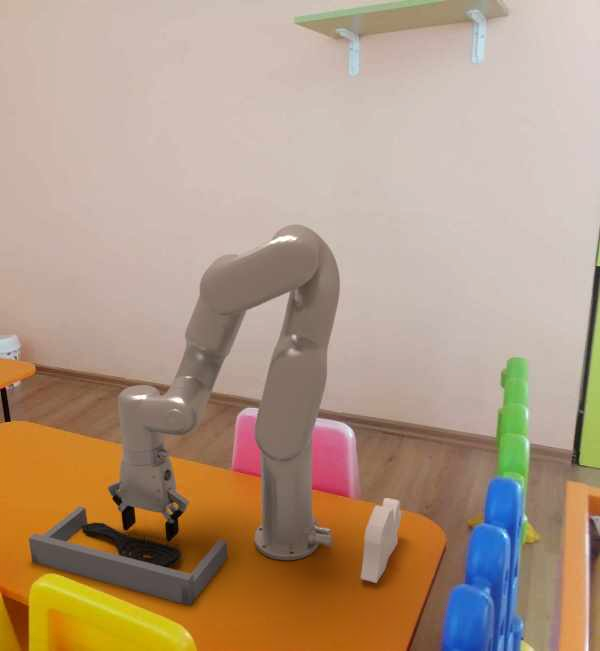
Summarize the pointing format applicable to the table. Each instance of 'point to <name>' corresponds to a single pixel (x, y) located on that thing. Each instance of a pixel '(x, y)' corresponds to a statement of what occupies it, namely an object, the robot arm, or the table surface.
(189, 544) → the table surface
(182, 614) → the table surface
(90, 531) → the hairbrush
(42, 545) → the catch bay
